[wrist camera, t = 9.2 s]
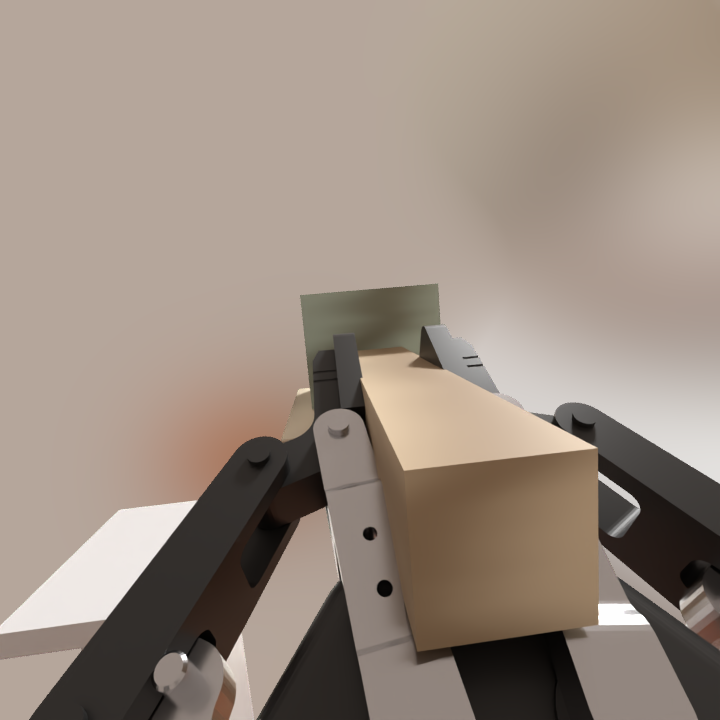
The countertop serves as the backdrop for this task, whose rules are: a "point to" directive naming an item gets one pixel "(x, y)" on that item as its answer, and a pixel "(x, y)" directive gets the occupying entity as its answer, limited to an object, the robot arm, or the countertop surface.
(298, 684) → the robot arm
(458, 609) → the mallet
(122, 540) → the white pedestal stand
